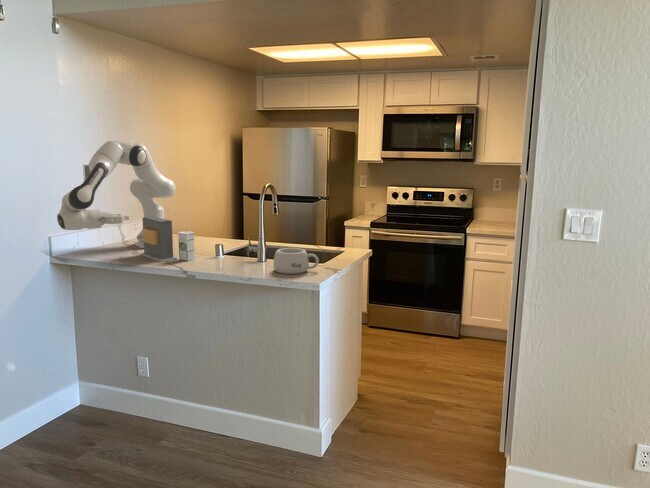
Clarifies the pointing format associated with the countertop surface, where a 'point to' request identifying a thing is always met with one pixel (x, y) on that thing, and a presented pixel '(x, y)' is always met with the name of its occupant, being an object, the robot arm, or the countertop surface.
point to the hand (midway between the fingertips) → (124, 216)
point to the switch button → (150, 236)
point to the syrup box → (186, 246)
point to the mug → (293, 261)
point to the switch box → (159, 240)
